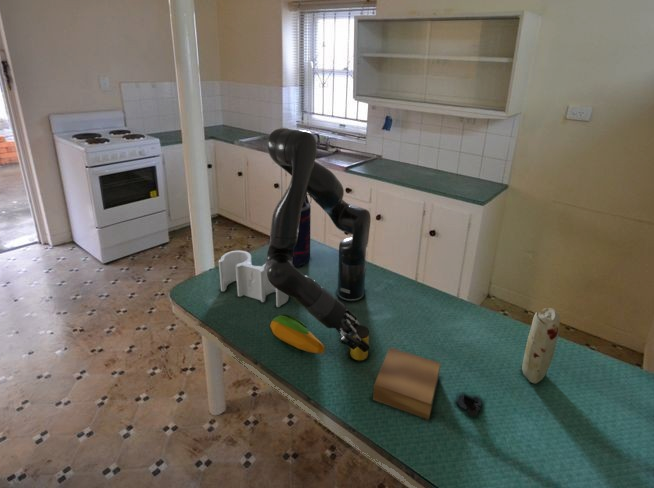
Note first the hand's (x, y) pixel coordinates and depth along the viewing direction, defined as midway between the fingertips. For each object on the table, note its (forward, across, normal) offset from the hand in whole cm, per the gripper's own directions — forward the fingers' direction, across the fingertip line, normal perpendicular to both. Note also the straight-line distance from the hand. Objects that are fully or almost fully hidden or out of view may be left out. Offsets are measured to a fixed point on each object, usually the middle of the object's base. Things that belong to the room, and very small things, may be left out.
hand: (366, 341), depth 113 cm
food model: (+36, -8, -29) cm, 46 cm away
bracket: (-21, +30, +28) cm, 47 cm away
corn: (-10, +4, +17) cm, 20 cm away
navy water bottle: (-12, +53, +19) cm, 58 cm away
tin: (+2, 0, +4) cm, 5 cm away
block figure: (+20, -17, -14) cm, 30 cm away
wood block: (+10, -12, -3) cm, 16 cm away
